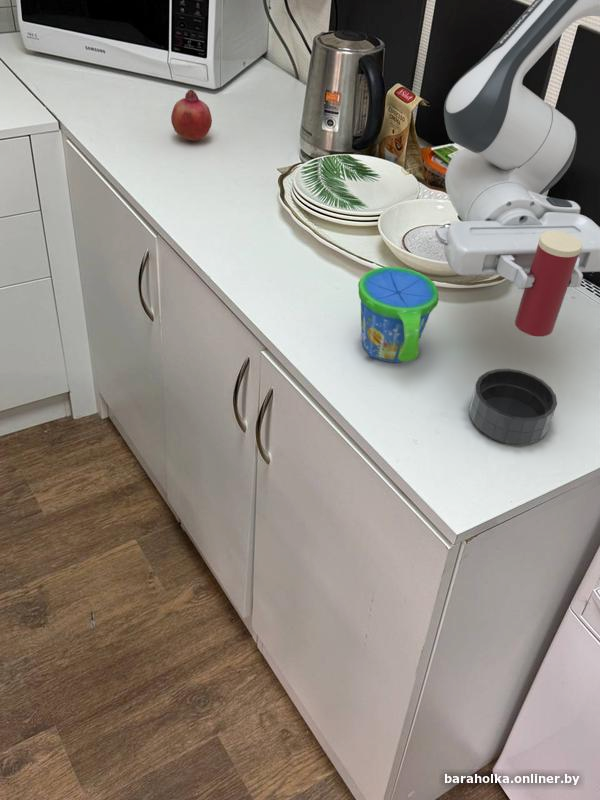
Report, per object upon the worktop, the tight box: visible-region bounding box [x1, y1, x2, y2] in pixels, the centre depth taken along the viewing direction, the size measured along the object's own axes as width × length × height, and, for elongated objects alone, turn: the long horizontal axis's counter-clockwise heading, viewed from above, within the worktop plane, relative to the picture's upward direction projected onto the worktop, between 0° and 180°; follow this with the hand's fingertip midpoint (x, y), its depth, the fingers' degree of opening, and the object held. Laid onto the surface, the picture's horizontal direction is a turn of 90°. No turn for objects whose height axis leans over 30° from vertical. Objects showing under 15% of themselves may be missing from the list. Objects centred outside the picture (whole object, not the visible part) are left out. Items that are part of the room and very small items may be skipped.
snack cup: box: [357, 266, 439, 363], centre depth 109 cm, size 16×10×10 cm
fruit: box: [170, 88, 213, 142], centre depth 160 cm, size 8×8×10 cm
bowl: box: [468, 368, 558, 446], centre depth 101 cm, size 10×10×4 cm
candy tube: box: [514, 231, 582, 338], centre depth 94 cm, size 5×5×12 cm
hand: (552, 283), depth 92 cm, fingers closed on candy tube, 4 cm apart
